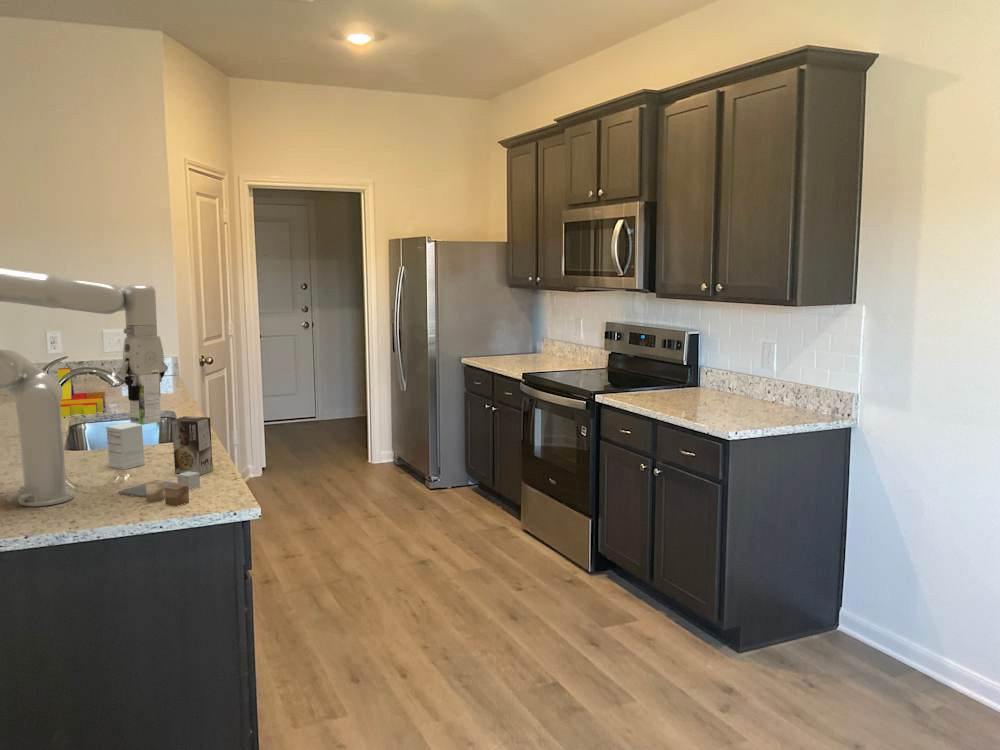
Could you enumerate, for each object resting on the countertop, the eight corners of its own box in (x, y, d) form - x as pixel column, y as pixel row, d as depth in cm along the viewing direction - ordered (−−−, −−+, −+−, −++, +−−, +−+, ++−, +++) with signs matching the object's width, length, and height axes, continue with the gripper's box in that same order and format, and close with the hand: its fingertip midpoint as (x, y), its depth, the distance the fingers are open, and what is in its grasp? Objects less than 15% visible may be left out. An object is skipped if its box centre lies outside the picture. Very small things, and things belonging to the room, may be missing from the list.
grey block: (189, 490, 221) (188, 476, 220) (178, 488, 223) (177, 474, 222) (200, 486, 225) (199, 472, 224) (189, 485, 226) (188, 471, 226)
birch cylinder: (155, 503, 209) (154, 486, 208) (142, 501, 211) (141, 484, 210) (168, 498, 213) (167, 481, 212) (156, 496, 215) (155, 480, 214)
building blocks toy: (50, 419, 323) (47, 374, 321) (56, 409, 346) (53, 367, 343) (103, 416, 330) (100, 371, 328) (105, 406, 353) (102, 365, 351)
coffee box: (214, 470, 242) (211, 417, 240) (200, 475, 236) (197, 421, 234) (187, 468, 245) (185, 415, 243) (173, 473, 239) (170, 419, 236)
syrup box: (129, 422, 218) (126, 369, 216) (149, 419, 223) (147, 367, 221) (141, 425, 215) (139, 370, 213) (162, 421, 220) (159, 368, 218)
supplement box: (130, 462, 252) (127, 422, 251) (145, 465, 249) (142, 424, 247) (108, 467, 246) (105, 426, 244) (123, 470, 242) (120, 428, 241)
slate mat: (143, 497, 214) (142, 495, 214) (118, 493, 217) (118, 491, 217) (180, 485, 225) (180, 483, 225) (156, 482, 229) (156, 479, 229)
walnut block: (177, 506, 206) (176, 489, 206) (165, 504, 208) (164, 487, 207) (189, 502, 210) (188, 485, 209) (177, 500, 211) (176, 483, 211)
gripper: (124, 334, 206) (128, 404, 208) (177, 330, 222) (180, 395, 224) (103, 333, 209) (107, 402, 212) (157, 329, 225) (159, 393, 227)
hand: (144, 397), depth 218 cm, fingers closed on syrup box, 6 cm apart
